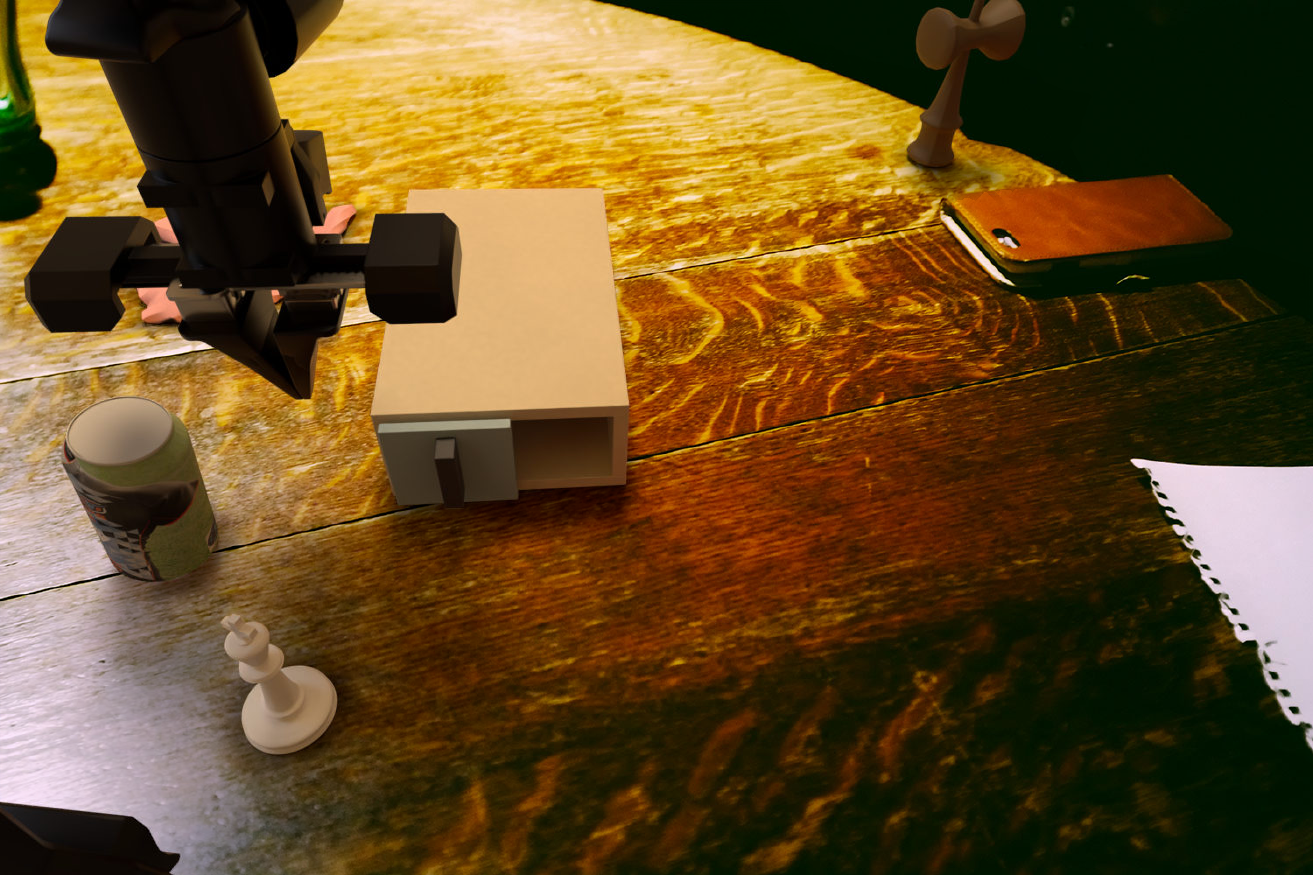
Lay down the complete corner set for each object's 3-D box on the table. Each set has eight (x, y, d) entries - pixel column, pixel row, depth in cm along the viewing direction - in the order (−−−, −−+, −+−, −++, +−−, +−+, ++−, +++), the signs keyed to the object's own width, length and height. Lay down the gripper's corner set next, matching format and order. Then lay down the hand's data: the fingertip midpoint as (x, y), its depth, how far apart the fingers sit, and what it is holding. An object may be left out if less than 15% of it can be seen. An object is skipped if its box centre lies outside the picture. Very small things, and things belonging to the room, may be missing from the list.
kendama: (978, 164, 92) (1051, -30, 78) (911, 180, 89) (974, -20, 74) (944, 139, 96) (1007, -51, 81) (878, 154, 93) (931, -42, 78)
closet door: (518, 520, 55) (510, 449, 50) (395, 527, 54) (373, 455, 49) (518, 490, 57) (510, 418, 51) (399, 496, 56) (378, 423, 51)
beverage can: (136, 515, 54) (47, 383, 45) (253, 509, 55) (188, 379, 46) (104, 598, 50) (-1, 470, 41) (231, 590, 51) (155, 463, 42)
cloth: (126, 348, 65) (113, 324, 63) (117, 205, 78) (105, 182, 76) (388, 290, 71) (382, 267, 70) (339, 168, 84) (333, 146, 83)
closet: (625, 484, 58) (629, 405, 52) (393, 496, 56) (369, 415, 50) (602, 266, 76) (602, 187, 70) (423, 269, 74) (409, 189, 68)
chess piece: (299, 768, 44) (239, 683, 36) (223, 733, 45) (151, 643, 37) (355, 688, 47) (311, 595, 40) (283, 657, 48) (227, 560, 41)
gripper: (448, 50, 41) (480, 300, 52) (44, 45, 39) (170, 307, 50) (431, 165, 33) (472, 427, 45) (-70, 166, 31) (108, 442, 43)
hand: (305, 394), depth 46 cm, fingers closed
